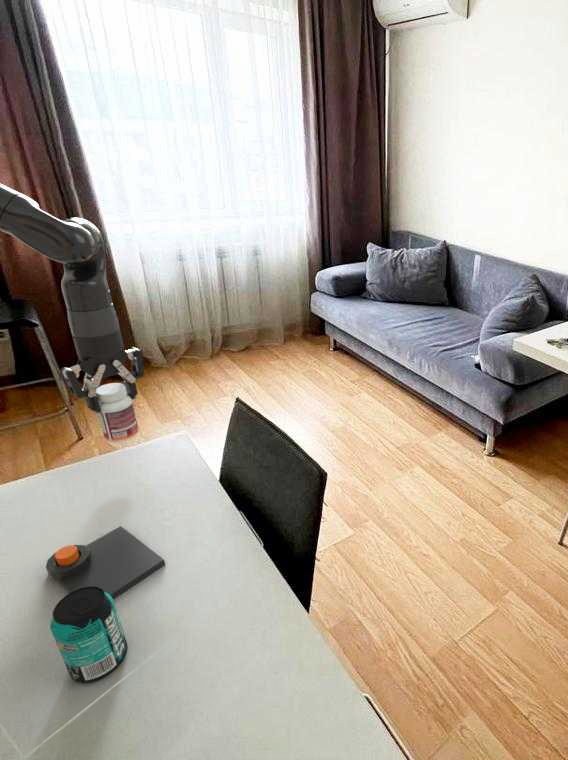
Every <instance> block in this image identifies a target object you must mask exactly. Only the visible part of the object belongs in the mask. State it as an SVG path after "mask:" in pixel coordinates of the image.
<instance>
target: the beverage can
mask: <svg viewBox="0 0 568 760" xmlns="http://www.w3.org/2000/svg"><path fill="white" fill-rule="evenodd" d="M49 628H50V632H51V634H52V636H53V638H54V641H55V644H56V647H57V648H58V650H59V654H60V655H61V658H62V661H63V663H64V665H65V668H66V670H67V672H68V675H69V677H70V678H71V679H72V681H74V682H76V683H80V684H89V683H93V682H97V681H99V680H102V679H104V678H106V677H107V676H109V675H110V674H111V673H113V672H114V671H115V670H117V668H118V667H119V666H120V665H121V664H122V663H123V661H124V659H125V658H126V656H127V653H128V649H129V646H128V641H127V638H126V636H125V633H124V630H123V627H122V622H121V620H120V616H119V614H118V611H117V607H116V604H115V600H113V599H112V597H111V596H110V595H109V594H108V593H106V592H104V591H103V590H102V589H101V588H99V587H95V586H89V587H84V588H80V589H78V590H75V591H73V592H71V593H68V594H67V595H65V596H64V597H62V598H61V599H60V600H59V601H58V602H57V603H56V604H55V607H54V608H53V611H52V617H51V620H50V627H49Z"/></svg>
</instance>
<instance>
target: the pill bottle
mask: <svg viewBox="0 0 568 760" xmlns="http://www.w3.org/2000/svg"><path fill="white" fill-rule="evenodd" d="M95 395H96V396H97V398H98V402H99V405H100V409H101V412H98V413H97V415H98V419H99V423H100V427H101V430H102V434H103V437H104V440H105V441H107V442H109V443H111V444H120V443H125V442H128V441H130V440H132V439H134V438H135V437H137V435H139V432H140V429H139V425H138V421H137V415H136V412H135V408H134V404H133V400H132V399H131V397H130V396H128V395H127V391H126V387H125V385H124V383H121V382H111V383H106V384H102V385H99V386H98V387H97V390H96V393H95Z"/></svg>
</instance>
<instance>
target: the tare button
mask: <svg viewBox="0 0 568 760" xmlns="http://www.w3.org/2000/svg"><path fill="white" fill-rule="evenodd" d="M74 545H75V544H73V545H72V544H70V545H65V546H63V547H60V548H59V549H58V550H57V551H56V552H55V553H56V554H55V558H56V561H57V563H58V565H59V566H67V565H70V564H72V563H74V562H76V561H77V560H78V558H79V553H78V550H77V547H76V546H74Z"/></svg>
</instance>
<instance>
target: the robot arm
mask: <svg viewBox="0 0 568 760" xmlns="http://www.w3.org/2000/svg"><path fill="white" fill-rule="evenodd" d="M0 232H3V233H5V234H8V235H10V236H12V237H13V238H15V239H17V240H18V241H20V242H21V243H23V244H24V245H26V247H29V248H31V249H32V250H33V251H35V252H37V253H39V254H41V255H42V256H43V257H46V258H48V259H50V260H52V261H55V262H57V263H60V264H62V265H63V276H62V279H61V280H60V281H61V283H60V286H61V287H60V288H61V291H62V295H63V299H64V303H65V306H66V313H67V320H68V325H69V328H70V332H71V336H72V341H73V344H74V346H75V351H76V354H77V357H78V360H77V362H76V363H77V364H75V365H73V366H70V367H64V366H63V367H62V368H61V369H60V373H61V375H62V377H63V379H64V381H65V383H66V385H67V387H68V389H69V392H70V394H72V395H73V396H74V397H76V398H77V399H82V398H85V403H86V406H87V409H89V410H90V411H92V412H94V413H96V414H98V412H101V409H100V405H99V402H98V398H97V396H96V394H95V393H96V390H97V388H98V387H100V386H101V383H102V380H105V379H107V378H109V377H113V376H117V375H119V376H120V377H121V378H122V379H123V380H124V381H123V384H124V385H125V387H126V391H127V395H128V396H130V397H131V399H132V401H133V400H135V399H136V398H137V397H136V396H137V395H138V388H137V384H136V381H137V380H138V379H139V378H143V377H144V376H145V369H144V353H143V350H141V349H139V348H136V347H135V346H132V347H130V348H129V349H128V350H126V349H125V347H124V342H123V337H122V332H121V327H120V325H119V324H120V320H119V319H118V316H117V312H116V309H115V306H114V304H113V300H112V295H111V291H110V287H109V284H108V280H107V263H106V261H107V260H106V249H105V244H104V240H103V239H104V238H103V237H102V234H101V232H100V231H99V229H98V228H97V227H96V226H95V225H94V224H93V223H92V222H90V221H88V220H87V219H85V218H82V217H81V218H80V217H70V218H66V219H63V220H60V219H59V218H57V217H54V216H53V215H51V214H49V213H48V212H45V211H43V210H42V209H41V208H40V205H39V204H38V202H36V201H35V200H33V199H32V198H30V197H29V196H27V195H25V194H23V193H21V192H18V191H16V190H14V189H12V188H10V187H8V186H6V185H4V184H1V183H0ZM127 359H129V360H130V369H131V370H130V371H131V372H130V371H129V370H128V369H127V368H126V366H125V363H126V361H127ZM81 371H83V372H84V373H85V375H84V377H83V385H81V383H80V381H79V379H78V378H79V377H80V372H81Z"/></svg>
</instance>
